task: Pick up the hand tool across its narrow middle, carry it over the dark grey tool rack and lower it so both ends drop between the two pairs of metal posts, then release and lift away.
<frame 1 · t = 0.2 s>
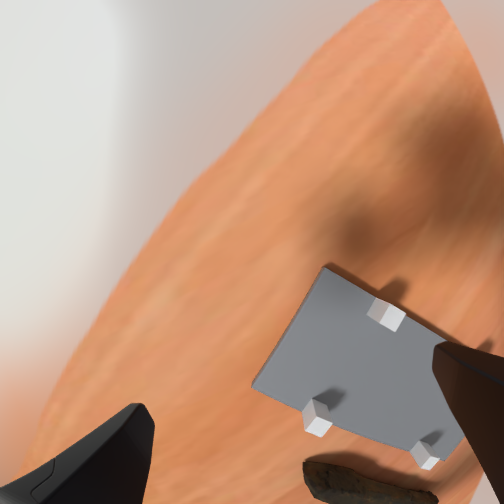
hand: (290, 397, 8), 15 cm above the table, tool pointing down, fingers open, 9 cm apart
tool rack: (400, 385, 22), on the table
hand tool: (367, 486, 23), on the table
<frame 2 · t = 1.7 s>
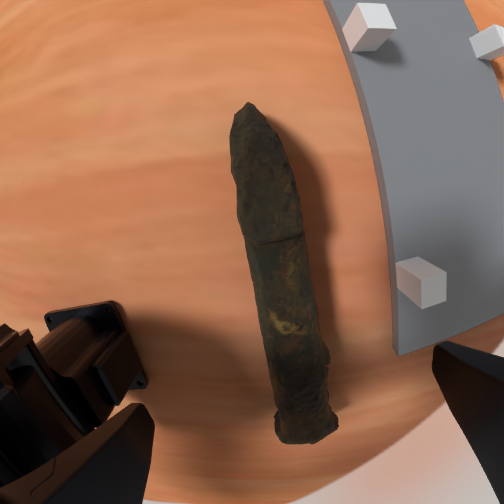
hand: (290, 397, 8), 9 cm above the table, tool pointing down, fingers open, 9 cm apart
tool rack: (449, 146, 14), on the table
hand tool: (273, 285, 17), on the table
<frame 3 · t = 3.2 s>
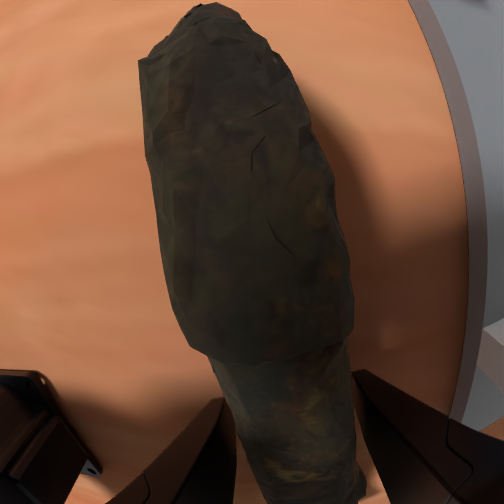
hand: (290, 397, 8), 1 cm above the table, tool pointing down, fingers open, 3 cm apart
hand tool: (273, 371, 9), on the table, touching gripper
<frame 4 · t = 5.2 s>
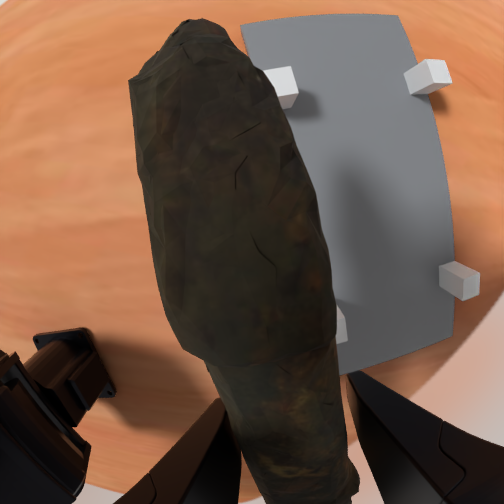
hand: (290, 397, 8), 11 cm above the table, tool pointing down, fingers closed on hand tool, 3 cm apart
tool rack: (371, 190, 17), on the table
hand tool: (270, 369, 9), point 10 cm above the table, touching gripper
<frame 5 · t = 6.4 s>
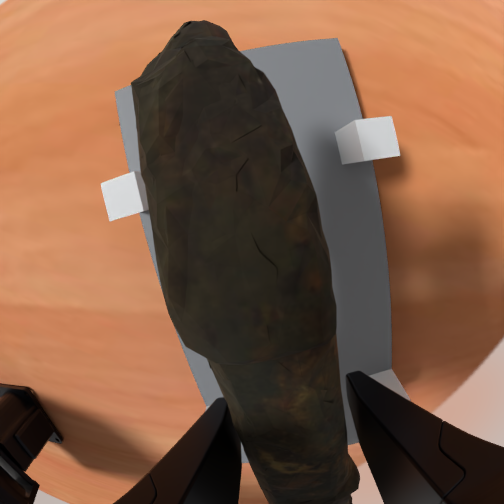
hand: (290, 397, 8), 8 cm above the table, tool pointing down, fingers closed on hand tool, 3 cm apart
tool rack: (280, 295, 15), on the table
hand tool: (272, 366, 10), point 6 cm above the table, touching gripper
when the fingers open (3 cm above the table, at t = 7.7 s): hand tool stays where it is, point 1 cm above the table.
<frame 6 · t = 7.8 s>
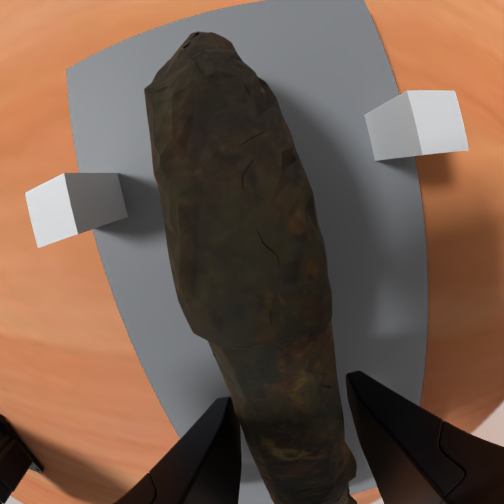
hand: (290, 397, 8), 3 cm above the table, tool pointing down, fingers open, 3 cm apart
tool rack: (284, 338, 11), on the table
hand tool: (270, 358, 10), point 1 cm above the table
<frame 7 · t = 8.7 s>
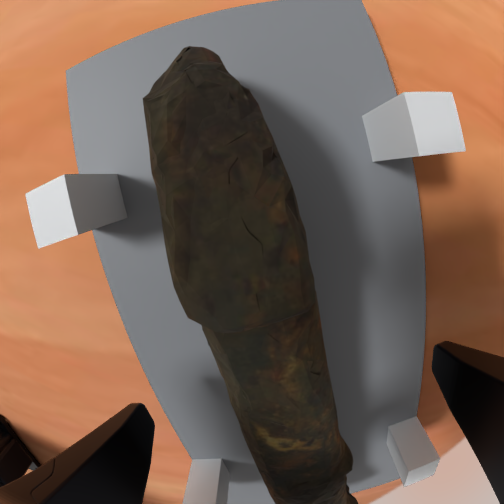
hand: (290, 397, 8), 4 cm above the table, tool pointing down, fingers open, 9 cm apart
tool rack: (283, 338, 11), on the table
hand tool: (265, 354, 10), point 1 cm above the table, touching tool rack
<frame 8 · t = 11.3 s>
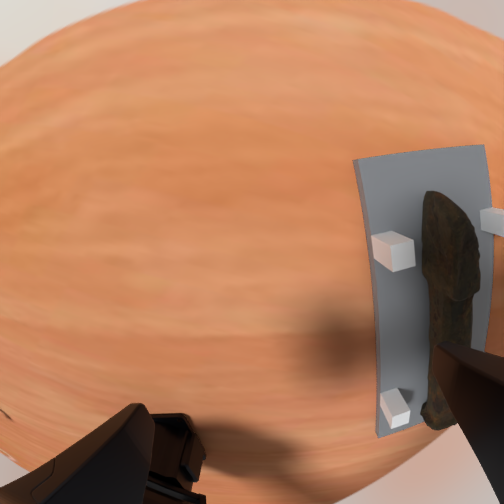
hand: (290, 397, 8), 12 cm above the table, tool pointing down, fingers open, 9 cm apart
tool rack: (436, 309, 20), on the table
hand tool: (430, 319, 19), point 1 cm above the table, touching tool rack
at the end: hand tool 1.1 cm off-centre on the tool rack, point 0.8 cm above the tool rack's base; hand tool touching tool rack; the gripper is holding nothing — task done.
